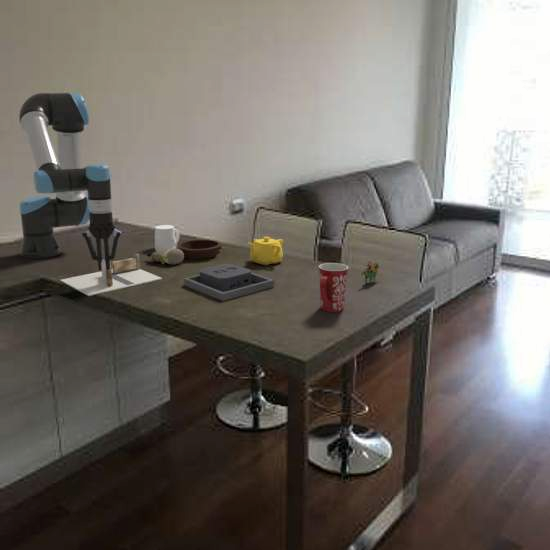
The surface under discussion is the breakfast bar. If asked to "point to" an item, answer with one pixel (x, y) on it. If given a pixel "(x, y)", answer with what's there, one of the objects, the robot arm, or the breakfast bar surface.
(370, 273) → the figurine
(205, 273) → the streaming box
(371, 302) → the breakfast bar surface
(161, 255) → the toy
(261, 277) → the speaker coaster
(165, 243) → the mug
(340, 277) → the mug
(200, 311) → the breakfast bar surface
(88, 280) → the card
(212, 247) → the dish
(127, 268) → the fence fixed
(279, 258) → the teapot
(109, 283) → the bar
